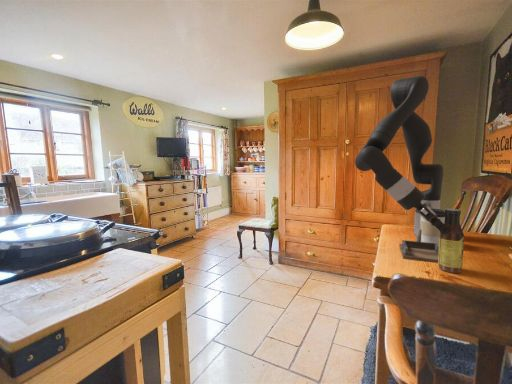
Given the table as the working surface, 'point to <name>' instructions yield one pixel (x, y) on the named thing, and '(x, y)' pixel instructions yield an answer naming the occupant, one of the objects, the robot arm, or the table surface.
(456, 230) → the sauce bottle
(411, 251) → the keeper cradle
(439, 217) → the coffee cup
